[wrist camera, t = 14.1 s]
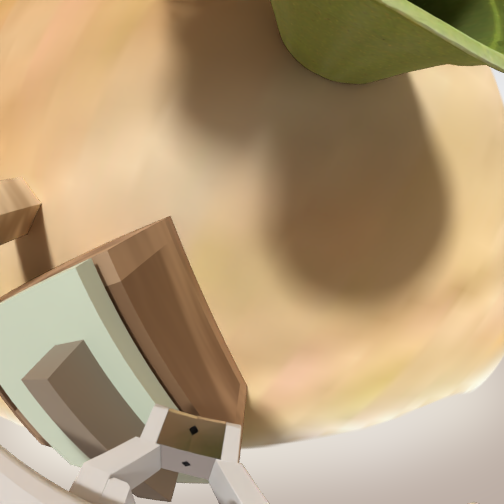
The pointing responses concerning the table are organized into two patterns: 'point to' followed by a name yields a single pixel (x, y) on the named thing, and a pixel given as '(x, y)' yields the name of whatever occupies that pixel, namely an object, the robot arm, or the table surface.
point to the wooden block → (16, 209)
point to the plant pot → (390, 35)
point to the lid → (80, 372)
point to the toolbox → (164, 322)
